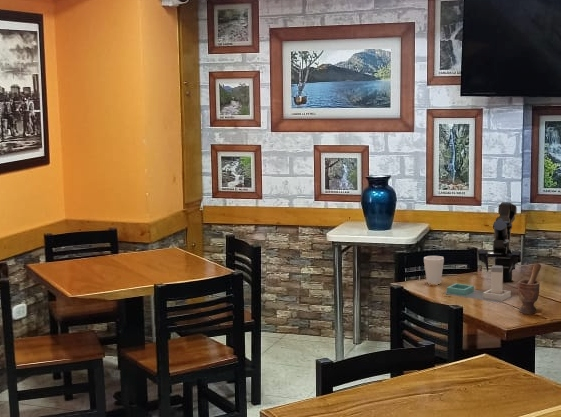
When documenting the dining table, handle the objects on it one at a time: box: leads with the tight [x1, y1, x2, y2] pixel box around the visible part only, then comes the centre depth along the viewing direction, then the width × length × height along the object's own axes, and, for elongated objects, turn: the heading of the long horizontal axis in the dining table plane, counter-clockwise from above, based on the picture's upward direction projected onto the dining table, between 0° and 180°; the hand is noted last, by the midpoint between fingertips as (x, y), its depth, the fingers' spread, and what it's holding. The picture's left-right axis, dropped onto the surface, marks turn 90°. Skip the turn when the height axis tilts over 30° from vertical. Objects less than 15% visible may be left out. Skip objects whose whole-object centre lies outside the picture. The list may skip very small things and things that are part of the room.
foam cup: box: [423, 255, 445, 284], centre depth 390 cm, size 10×9×13 cm
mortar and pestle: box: [517, 262, 542, 315], centre depth 339 cm, size 12×9×20 cm
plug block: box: [490, 264, 504, 295], centre depth 359 cm, size 4×4×14 cm
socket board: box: [442, 282, 515, 304], centre depth 366 cm, size 28×14×4 cm, turn 51°
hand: (498, 271), depth 363 cm, fingers open, 9 cm apart
